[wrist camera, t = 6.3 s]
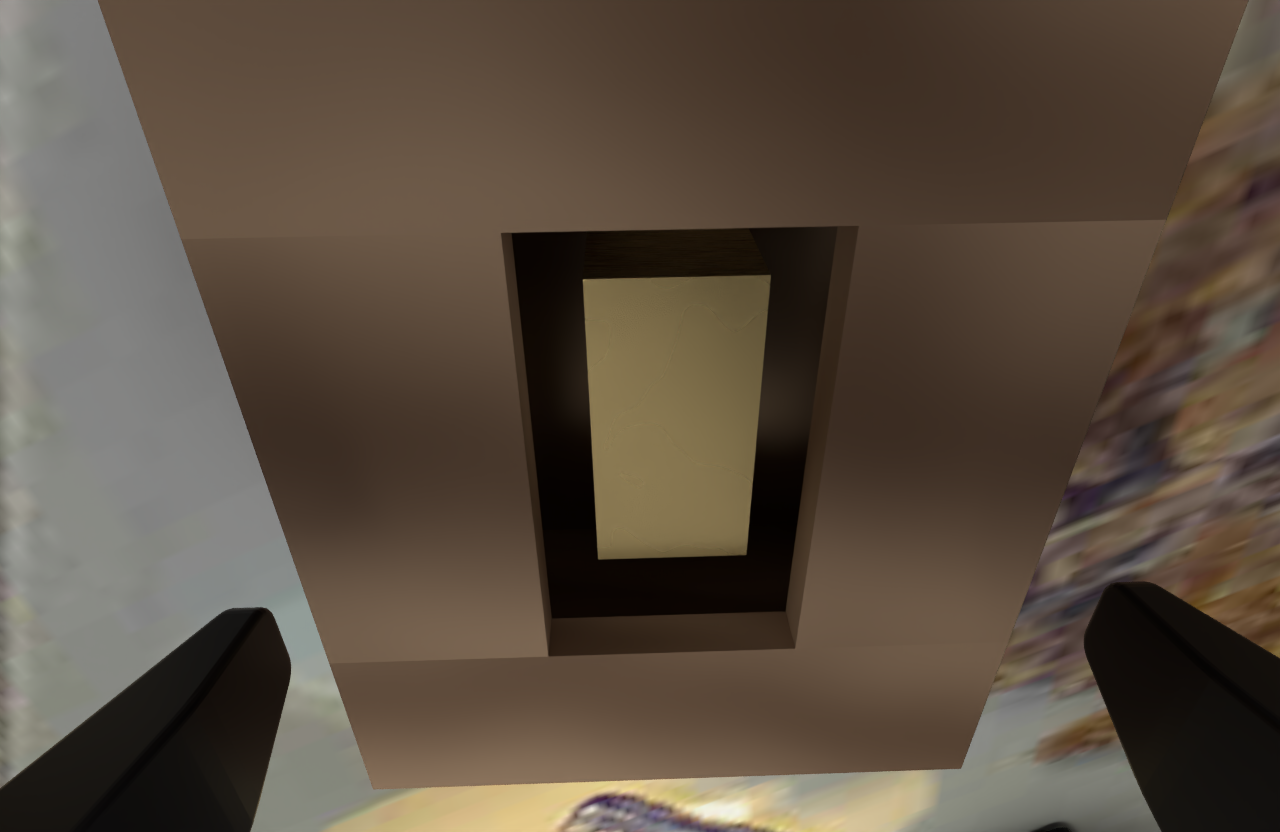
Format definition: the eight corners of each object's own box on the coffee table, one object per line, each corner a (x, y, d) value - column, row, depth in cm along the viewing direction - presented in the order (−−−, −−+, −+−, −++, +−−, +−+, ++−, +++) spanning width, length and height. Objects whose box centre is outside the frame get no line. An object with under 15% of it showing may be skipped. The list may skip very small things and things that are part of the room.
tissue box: (857, 524, 20) (961, 768, 14) (444, 535, 20) (373, 789, 14) (981, -119, 12) (1313, -174, 7) (316, -112, 12) (40, -163, 6)
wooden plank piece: (712, 401, 17) (745, 555, 13) (601, 404, 17) (597, 559, 13) (723, 175, 14) (770, 275, 10) (591, 178, 14) (582, 279, 10)
